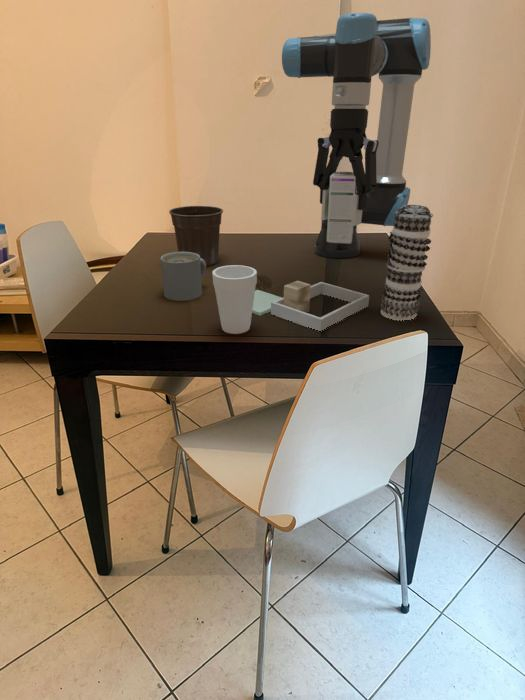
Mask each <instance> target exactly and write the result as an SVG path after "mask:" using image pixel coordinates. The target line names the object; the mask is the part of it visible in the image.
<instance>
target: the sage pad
mask: <svg viewBox="0 0 525 700" xmlns="http://www.w3.org/2000/svg"><path fill="white" fill-rule="evenodd" d="M281 298H283V297H281V296H278V295H275V294H272V293H269V292H265V291H263V290H260V289H255V294H254V301H253V309H252V314H255V315H256V316H259V317H261V316H264V315H265V313H266V314H268V313H269V312H270V313H271V302H273V301H276V300H278V299H281Z"/></svg>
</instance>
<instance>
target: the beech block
mask: <svg viewBox="0 0 525 700" xmlns="http://www.w3.org/2000/svg"><path fill="white" fill-rule="evenodd" d="M311 286H312V285H311V284H310V283H307V282H303V281H300V280H296V281H292V282H290V283H288V284H285V285H283V297H284V305H285V306H288V307H291V308H294V309H297V310H300V311H302V312H305V313H307V312H308V313H310V304H311V299H310V288H311Z"/></svg>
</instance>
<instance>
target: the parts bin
mask: <svg viewBox="0 0 525 700" xmlns="http://www.w3.org/2000/svg"><path fill="white" fill-rule="evenodd" d="M320 295H323V296H326V295H327V296H326V297H330V296H331V298H333V297H334V298H333V299H336V298H338V299H337V300H340V299H341V300H340V301H343V300H344V301H343V302H346V301H348V302H347V304H345V305H343V306H340V307H339V308H337V309H335V310H333V311H330V312H328V313H327V314H325V315H322V316H321V317H320V316H316V315H314V314H311V313H309V312H308V313H305V312H302V311H300V310H297V309H294V308H291V307H288V306H285V305H284V296H283V297H282V298H281V299H278V300H276V301H273V302H271V311H270V315H272V316H274V315H275V317H277V318H280V319H283V320H286V321H288V320H289V322H291V321H292V322H291V323H295V324H296V325H299V326H303V327H305V328H308V327H309V328H308V329H310V328H312V329H311V330H313V329H315V330H314V331H316V330H318V331H317V332H319V331H321V332H323V331H325V330H327V329H328V328H327V327H329V326H331V325H333V324H335V323H336V324H338V323H340V322H342V321H344V320H345V319H344V318H346V317H348V316H350V315H352V314H353V315H355V314H357V313H359V312H361V311H363V310H364V308H365V309H366V307H367V308H368V307H369V303H370V302H369V301H370V295H369V294H366V293H362V292H359V291H356V290H351V289H348V288H346V287H345V288H344V287H341V286H337V285H333V284H331V283H326V282H323V281H320V282H317V283H315V284H312V285H311V288H310V300H311V299H312V298H315V297H318V296H320ZM350 302H351V303H350ZM362 309H363V310H362ZM360 310H361V311H360ZM358 311H359V312H358ZM356 312H357V313H356ZM354 313H355V314H354ZM353 315H352V316H353ZM350 317H351V316H350ZM348 318H349V317H348ZM343 319H344V320H343ZM346 319H347V318H346ZM341 320H342V321H341ZM339 321H340V322H339ZM337 322H338V323H337ZM336 324H335V325H336ZM333 326H334V325H333ZM331 327H332V326H331ZM326 328H327V329H326ZM329 328H330V327H329ZM324 329H325V330H324ZM322 330H323V331H322Z"/></svg>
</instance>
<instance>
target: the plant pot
mask: <svg viewBox="0 0 525 700" xmlns="http://www.w3.org/2000/svg"><path fill="white" fill-rule="evenodd" d="M168 212H169V214H170V216H171V223H172V225H173V227H174V234H175V240H176V245H177V252H192V253H196V254H198V255H199V256H200V258H202V259H203V260H204V261H205V263H206V267H209V266H212V265H216V264H217V263H218V262H219V247H220V243H219V242H220V230H221V228H220V227H221V224H222V216H223V215H222V214H223V213H224V209H222V208H220V207H217V206H212V205H210V206H209V205H187V206H185V205H184V206H179V207H174V208H172V209H169V211H168Z"/></svg>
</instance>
